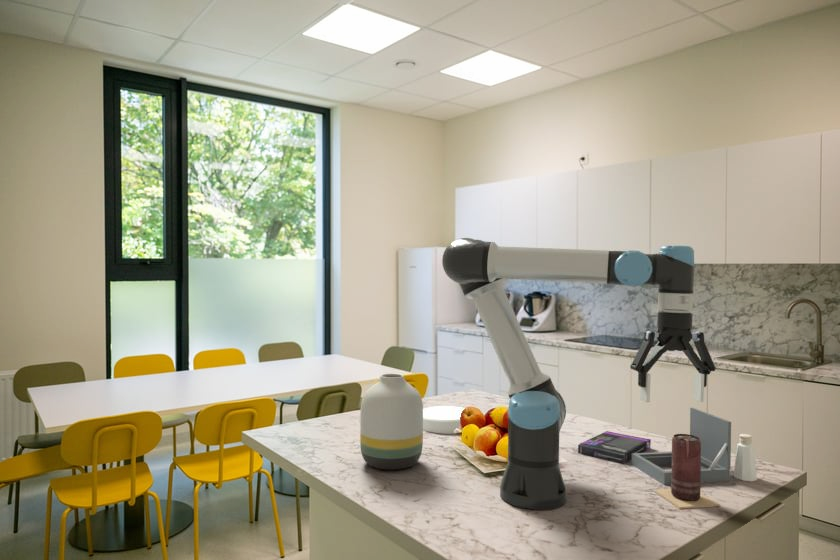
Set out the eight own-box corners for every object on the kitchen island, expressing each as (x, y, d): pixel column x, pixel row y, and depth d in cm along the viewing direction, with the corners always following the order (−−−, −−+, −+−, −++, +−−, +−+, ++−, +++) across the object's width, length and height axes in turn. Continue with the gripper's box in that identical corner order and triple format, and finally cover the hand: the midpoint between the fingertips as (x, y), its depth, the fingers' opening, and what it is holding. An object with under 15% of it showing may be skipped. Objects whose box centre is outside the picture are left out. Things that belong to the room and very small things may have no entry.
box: (606, 441, 177) (577, 454, 163) (606, 430, 177) (577, 442, 163) (651, 451, 168) (624, 465, 154) (651, 439, 168) (624, 452, 154)
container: (446, 415, 206) (446, 402, 206) (488, 426, 191) (488, 413, 191) (405, 425, 192) (405, 411, 192) (446, 438, 177) (446, 423, 177)
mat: (679, 508, 125) (679, 507, 125) (653, 491, 134) (653, 489, 134) (720, 506, 126) (720, 504, 126) (691, 489, 136) (691, 487, 136)
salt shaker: (736, 472, 148) (737, 430, 148) (760, 477, 144) (760, 435, 144) (730, 477, 144) (730, 434, 144) (753, 483, 140) (754, 439, 140)
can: (675, 501, 128) (676, 439, 128) (668, 490, 134) (669, 432, 134) (704, 503, 127) (704, 441, 126) (695, 492, 133) (696, 433, 133)
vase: (435, 463, 153) (436, 375, 152) (390, 480, 140) (391, 384, 140) (392, 449, 164) (392, 368, 164) (347, 463, 152) (347, 375, 152)
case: (664, 484, 139) (665, 424, 139) (631, 464, 153) (632, 409, 153) (730, 481, 142) (731, 421, 141) (692, 461, 156) (692, 407, 156)
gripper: (633, 311, 127) (630, 404, 127) (734, 313, 131) (730, 404, 131) (617, 309, 134) (614, 397, 135) (712, 310, 138) (709, 396, 138)
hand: (671, 400), depth 133 cm, fingers open, 13 cm apart
